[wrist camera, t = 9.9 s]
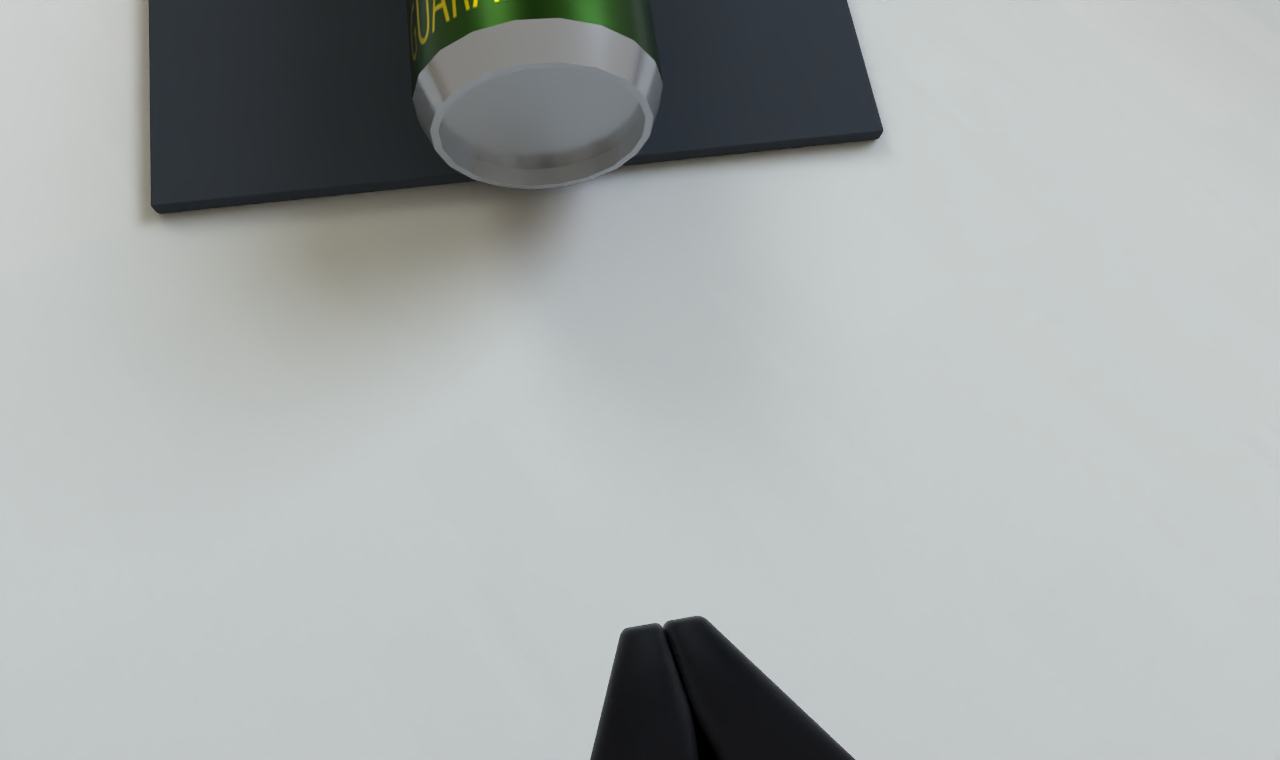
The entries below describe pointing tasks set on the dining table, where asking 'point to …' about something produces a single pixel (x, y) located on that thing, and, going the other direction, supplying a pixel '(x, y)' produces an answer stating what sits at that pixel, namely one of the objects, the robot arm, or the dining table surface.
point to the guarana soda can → (534, 86)
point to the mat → (384, 110)
